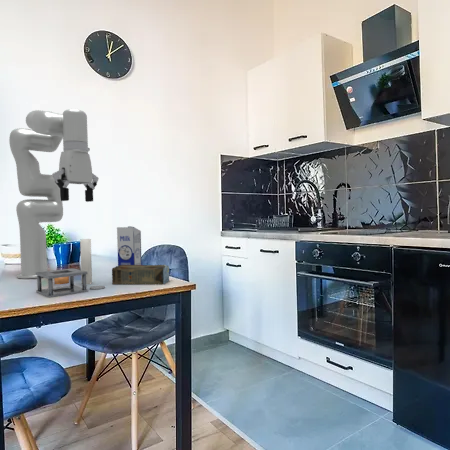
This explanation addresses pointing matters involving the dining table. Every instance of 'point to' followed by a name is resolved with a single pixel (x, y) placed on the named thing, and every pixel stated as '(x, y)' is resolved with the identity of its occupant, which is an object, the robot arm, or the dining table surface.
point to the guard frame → (71, 288)
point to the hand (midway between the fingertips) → (77, 201)
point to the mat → (96, 287)
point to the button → (61, 280)
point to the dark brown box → (140, 274)
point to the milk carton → (129, 246)
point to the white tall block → (86, 259)
